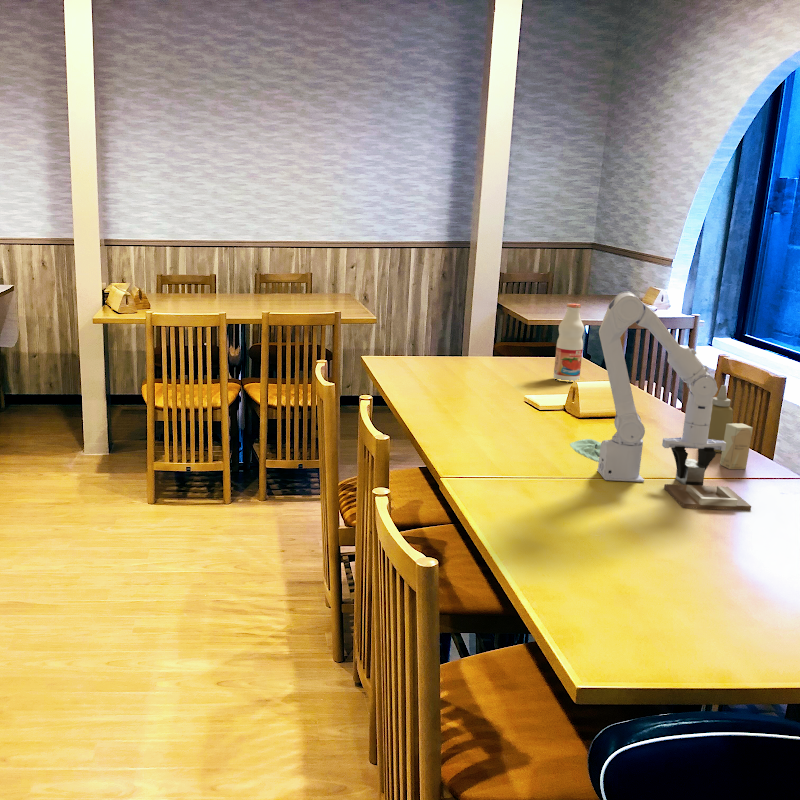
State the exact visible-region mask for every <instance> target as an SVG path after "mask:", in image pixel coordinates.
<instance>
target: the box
mask: <svg viewBox="0 0 800 800" xmlns="http://www.w3.org/2000/svg"><path fill="white" fill-rule="evenodd" d="M753 428H754V427H752V426H750V425H748V424H745V423H743V422H742V423H736V422H735V423H734V422H732V424H726V430H725V436H724V442H726V448H725V451H722V452H721V456H720V461H719V464H720V466H722V467H725V468H726V469H729V470H746V469H747V464H748V458H749V452H750V446H751V440H752V435H753V430H754V429H753Z"/></svg>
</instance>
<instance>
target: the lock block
mask: <svg viewBox="0 0 800 800" xmlns="http://www.w3.org/2000/svg"><path fill="white" fill-rule="evenodd" d="M705 472H706V470H705V467H703V466H702V465H701V464H700V463H698V460H696V459H695V458H687V459H686V463H685V468H684V476H683V478H679V477H678V476H677V470H676V473H675V479H676V480H677V481H678V482H679V483H680V485H699V486H704V480H705Z"/></svg>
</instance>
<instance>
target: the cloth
mask: <svg viewBox="0 0 800 800" xmlns="http://www.w3.org/2000/svg"><path fill="white" fill-rule="evenodd" d="M601 443H602V442H601V441H597V440H595V439H593V438H592V439H591V438H586V439H584V438H583V439H580V440H575V441H573V442H570V443H569V446H570V448H572V449H573V450H574V452H576V453H578V454H579V455H581V456H584V457H586V458H588V459H590V460H592V461H595V462H597V463H599V456H600V447H601Z"/></svg>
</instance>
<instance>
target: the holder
mask: <svg viewBox="0 0 800 800" xmlns="http://www.w3.org/2000/svg"><path fill="white" fill-rule="evenodd" d="M663 488H664V489H665V491H666V492H667V493H668V494H669V495H670V496H671V497H672V498H673V499H674V500H675V501H676V502H677V503H678V504H679V505H680V506H681V507H682V508H683V509H699V510H700V509H701V510H702V509H704V510H705V509H706V510H726V511H727V510H728V511H729V510H730V511H752V510H751V509H752V505H750V503H748V502H747V501H746V500H744V499H743V497H741V496H740V495H738V493H736V492H735V491H734V490H733V489H731V488H730V487H729V486H723V485H722V486H720V485H703V486H699V485H682V484H672V483H671V484H670V483H669V484H668V483H665V484H664V486H663Z"/></svg>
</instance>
